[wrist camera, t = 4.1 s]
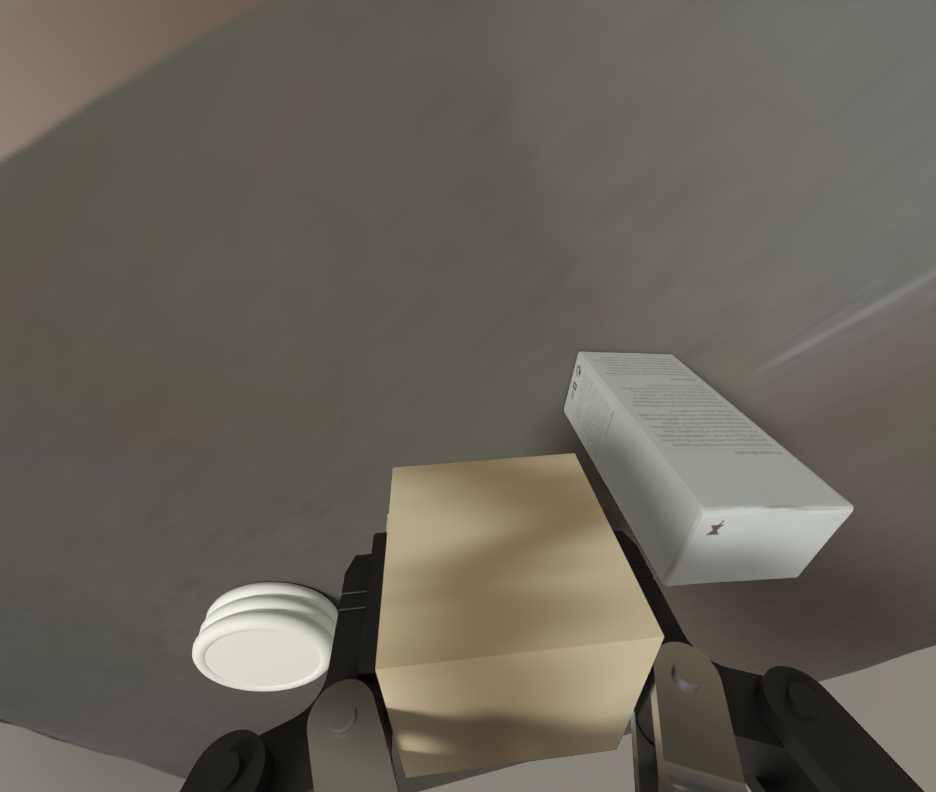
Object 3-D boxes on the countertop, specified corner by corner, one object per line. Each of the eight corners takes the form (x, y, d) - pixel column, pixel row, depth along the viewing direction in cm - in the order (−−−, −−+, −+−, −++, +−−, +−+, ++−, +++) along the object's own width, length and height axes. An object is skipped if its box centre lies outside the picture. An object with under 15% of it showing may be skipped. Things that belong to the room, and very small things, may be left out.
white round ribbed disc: (280, 560, 30) (266, 606, 27) (365, 619, 35) (360, 663, 32) (180, 611, 32) (156, 660, 29) (274, 661, 37) (262, 706, 34)
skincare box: (561, 411, 26) (658, 590, 15) (576, 348, 23) (702, 509, 13) (652, 412, 26) (800, 582, 16) (675, 352, 24) (863, 505, 14)
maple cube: (574, 452, 11) (664, 636, 7) (558, 566, 14) (616, 749, 10) (392, 468, 11) (374, 669, 7) (411, 581, 14) (405, 777, 9)
